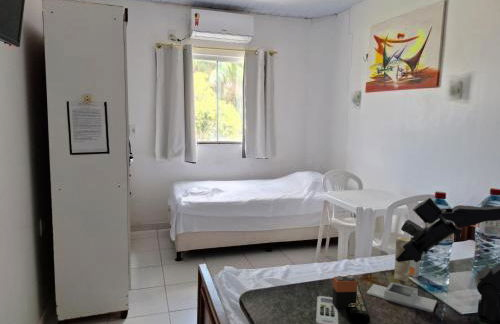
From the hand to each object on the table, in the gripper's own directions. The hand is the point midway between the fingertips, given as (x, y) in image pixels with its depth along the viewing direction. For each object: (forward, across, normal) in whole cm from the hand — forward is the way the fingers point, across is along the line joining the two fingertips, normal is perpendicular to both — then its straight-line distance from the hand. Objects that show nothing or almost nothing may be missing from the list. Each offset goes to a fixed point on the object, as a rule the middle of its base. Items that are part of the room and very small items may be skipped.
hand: (398, 258), depth 123 cm
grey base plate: (+8, +1, +11) cm, 14 cm away
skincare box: (+10, -24, +10) cm, 28 cm away
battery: (+18, +18, +1) cm, 26 cm away
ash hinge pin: (+4, 0, +6) cm, 7 cm away
